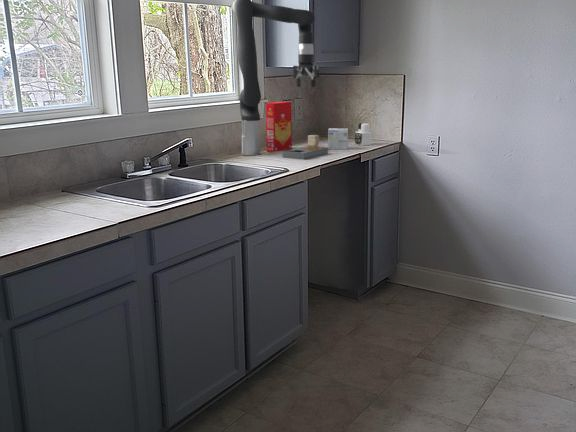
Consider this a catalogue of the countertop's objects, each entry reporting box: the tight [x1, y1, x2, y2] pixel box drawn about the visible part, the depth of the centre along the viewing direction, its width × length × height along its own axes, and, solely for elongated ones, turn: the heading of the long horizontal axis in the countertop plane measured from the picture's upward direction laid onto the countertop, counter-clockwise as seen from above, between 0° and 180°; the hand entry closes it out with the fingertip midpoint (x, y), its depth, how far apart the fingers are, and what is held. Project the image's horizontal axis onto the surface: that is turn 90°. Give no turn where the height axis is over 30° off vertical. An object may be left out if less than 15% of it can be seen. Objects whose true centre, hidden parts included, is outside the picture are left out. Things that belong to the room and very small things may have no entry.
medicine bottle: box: [354, 122, 373, 146], centre depth 329 cm, size 7×7×12 cm
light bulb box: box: [327, 127, 349, 150], centre depth 314 cm, size 11×7×11 cm, turn 84°
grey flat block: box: [282, 145, 329, 161], centre depth 287 cm, size 22×12×4 cm, turn 145°
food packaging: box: [265, 101, 293, 153], centre depth 307 cm, size 15×5×25 cm, turn 143°
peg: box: [307, 134, 320, 148], centre depth 292 cm, size 4×4×9 cm
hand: (305, 87), depth 294 cm, fingers open, 8 cm apart
